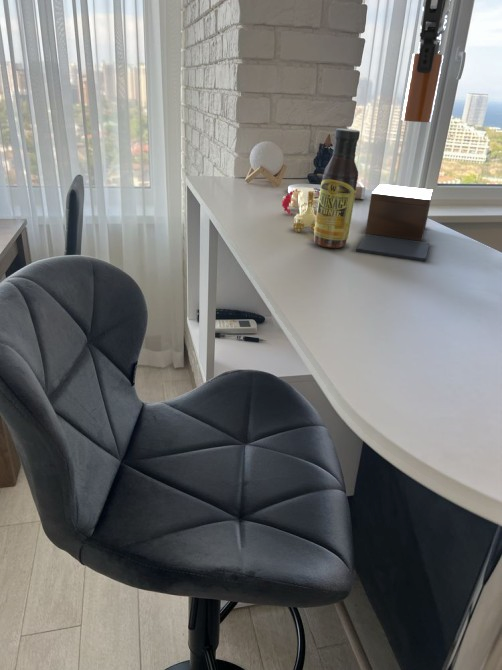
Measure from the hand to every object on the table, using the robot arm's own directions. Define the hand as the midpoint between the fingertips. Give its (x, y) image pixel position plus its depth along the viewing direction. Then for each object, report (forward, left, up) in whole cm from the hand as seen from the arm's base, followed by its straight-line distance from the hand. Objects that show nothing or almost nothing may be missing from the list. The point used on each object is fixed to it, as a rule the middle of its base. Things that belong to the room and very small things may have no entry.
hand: (424, 72), depth 83 cm
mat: (0, +3, -29) cm, 29 cm away
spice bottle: (0, 0, -7) cm, 7 cm away
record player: (+23, -41, -29) cm, 55 cm away
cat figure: (+21, -11, -29) cm, 37 cm away
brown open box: (+1, -11, -29) cm, 31 cm away
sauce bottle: (+11, +7, -29) cm, 32 cm away
